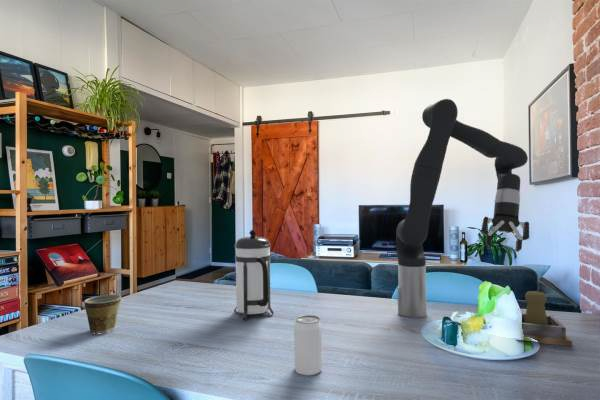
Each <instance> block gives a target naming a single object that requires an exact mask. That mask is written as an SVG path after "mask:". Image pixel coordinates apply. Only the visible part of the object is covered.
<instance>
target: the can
mask: <svg viewBox="0 0 600 400" xmlns="http://www.w3.org/2000/svg"><path fill="white" fill-rule="evenodd" d="M320 320H321V319H320V318H319V317H318V316H317V315H314V314H310V315H309V314H305V315H300V316H297V317H296V318H295V323H294V324H293V325H294V328H293V335H294V336H293V340H294V341H293V342H294V343H293V346H294V348H293V349H294V350H293V351H294V357H293V358H294V370H295V372H296V373H298V374H299V375H301V376H304V377H314V376H317V375H319V374H320V373H321V371H322V369H323V342H322V340H323V337H322V336H323V335H322V334H323V333H322V332H323V330H322V323H321V322H320Z"/></svg>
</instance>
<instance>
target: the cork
mask: <svg viewBox="0 0 600 400" xmlns="http://www.w3.org/2000/svg"><path fill="white" fill-rule="evenodd" d="M524 298H525V301H526V302H527V304H526V305H527V306H526V311H525V313H526V318H525V323H530V324H541V325H548V323H547V317H546V315H547V312H546V307H545V305H546V303H547V300H548V299H547V296H546V294H545V293H544V292H542V291H537V290H529V291H527V292H526V293H525V295H524Z"/></svg>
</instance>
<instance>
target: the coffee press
mask: <svg viewBox="0 0 600 400" xmlns="http://www.w3.org/2000/svg"><path fill="white" fill-rule="evenodd" d="M256 234H257V232H256V230H254V229H251V230H250V231H249V235H250V236H245V237H244V236H243V237H241V238H238V239H237V240H236V242H235V244H234V248H235V255H234V261H235V296H236V297H235V299H236V300H235V301H236V303H235V305H236V306H235V308H234V309H233V312H234V314H238V313H240V314H242V318H241V319H242V321H248V320H249V316H250V315H259V314H263V313H265V314H266V315H268V317H272V316H273V315H274V313H275V312H274V311H273V309H272V307H271V249H270V248H271V246H272V244H271V243H270V240H269V239H267V238H266V237H263V236H256Z"/></svg>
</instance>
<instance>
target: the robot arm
mask: <svg viewBox="0 0 600 400" xmlns="http://www.w3.org/2000/svg"><path fill="white" fill-rule="evenodd" d="M421 117H422V118H421V119H422V122H423V124H424V125H425V126H426V127H427V128H428V129H429V132H428V135H427V139H426V141H425V143H424V144H423V147H422V148H421V149H420V151H419V153H418V155H417V157H416V160H415V162H414V164H413V167H412V168H413V169H412V173H411V179H410V183H409V184H410V185H409V186H410V187H409V189H410V190H409V192H410V193H409V206H408V209H407V212H406V216H405V217H404V219H403V220H401V221H400V222H398V224H397V227H396V231H395V235H396V236H395V239H396V240H395V241H396V243H395V245H396V257H397V266H398V267H397V269H398V270H397V273H398V274H397V277H398V280H397V281H398V286H397V313H398V314H397V315H399V316H403V317H407V318H417V319H418V318H425V317H426V316H427V271H426V270H427V268H426V266H427V264H426V261H427V260H426V256H425V252H424V244H423V243H424V242H425V241H426V240H427V237H428V234H429V225H430V217H431V211H432V206H433V203H434V200H435V197H436V193H437V190H438V186H439V183H440V179H441V175H442V170H443V165H444V161H445V158H446V154H447V148H448V145H449V141H450V138H453V139H455V140H456V141H458V142H461V143H463V144H465V145H467V146H468V147H469V148H471V149H473V150H474V151H476V152H478V153H479V154H481V155H483V156H484V157H486V158H490V159H493V158H494V170H495V173H496V175H495V176H496V177H497V184H496V185H497V186H496V192H495V197H494V207H493V208H494V209H493V216H492V217H488V216H484V218H483V220H482V224H481V230H480V231H481V232H480V234H481V235H484V236H486V238H485V239H486V240H485V245H486V246H487V248H491V247H492V241H493V240H492V239H493V237H492V235H493V234H494V233H495V232H497V231H498V232H500V233H507V234H510V233H511V234H512V236H514V237H515V239H516V241H515V249H514V250H515V252H520V251H521V250H522V247H523V241H527V240H529V239H530V222H529V221H525V222H524V221H520V220H519V217H520V215H519V214H520V204H521V203H520V201H521V192H520V191H521V177H520V176H519V175H518V174H515V173H513V171H512V170H515V169H518V168H521V167H523V166H525V165H526V164H527V162H528V160H529V159H528V154H527V152H526V151H525V150H524V149H523V148H522V147H520V146H517V145H515V144H513V143H509V142H507V141H503V140H500V139H499V138H497V137H496V136H494V135H492V134H491V133H489V132H487V131H485V130H483V129H481V128H478V127H474V126H471V125H468V124H466V123H463V122H461V121H459V120H457V119H458V106H457V104H456V103H455V102H454V101H453V100H452V99H451V98H450V99H449V98H443V99H440V100H438V101H435V102H432V103H431V104H429V105H428V106H426V107H425V109H424V110H422V116H421ZM490 223H492V224H493V227H492V229H490V231H487V230H488V228H487V227H488V225H489V224H490ZM519 226H520V227H521V229H522V234H521V233H520V231H519V230H518V227H519Z"/></svg>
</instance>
